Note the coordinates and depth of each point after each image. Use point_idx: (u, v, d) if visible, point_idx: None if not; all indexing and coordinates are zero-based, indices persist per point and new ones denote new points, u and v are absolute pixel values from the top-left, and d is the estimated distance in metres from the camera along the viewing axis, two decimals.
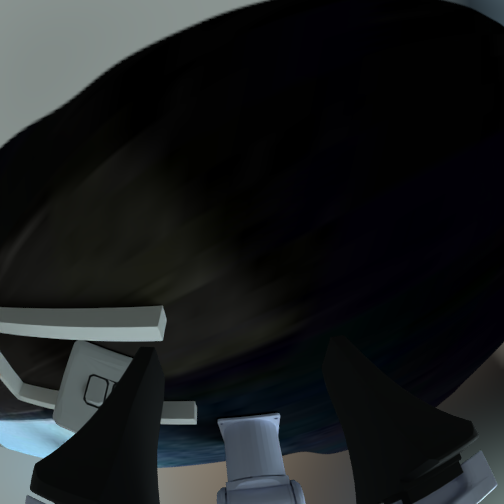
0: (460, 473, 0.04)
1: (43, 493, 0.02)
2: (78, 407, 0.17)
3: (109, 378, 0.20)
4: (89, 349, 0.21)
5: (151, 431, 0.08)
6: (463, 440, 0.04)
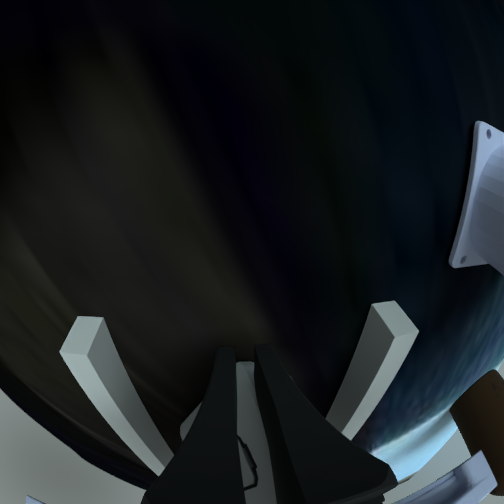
0: (460, 473, 0.04)
1: None
2: None
3: None
4: (187, 427, 0.14)
5: None
6: (364, 490, 0.03)
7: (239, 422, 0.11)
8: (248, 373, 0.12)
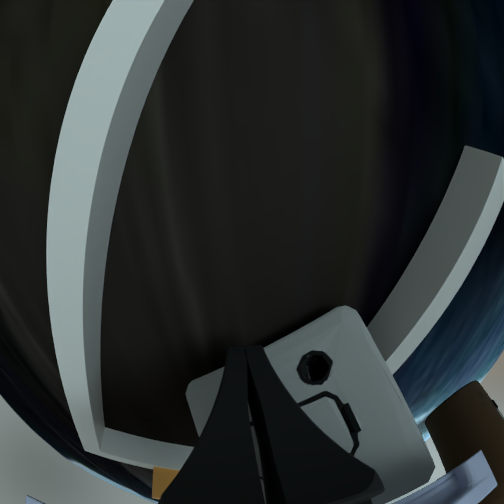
0: (460, 473, 0.04)
1: None
2: None
3: None
4: (211, 386, 0.12)
5: None
6: (347, 496, 0.03)
7: (340, 377, 0.10)
8: (361, 319, 0.10)
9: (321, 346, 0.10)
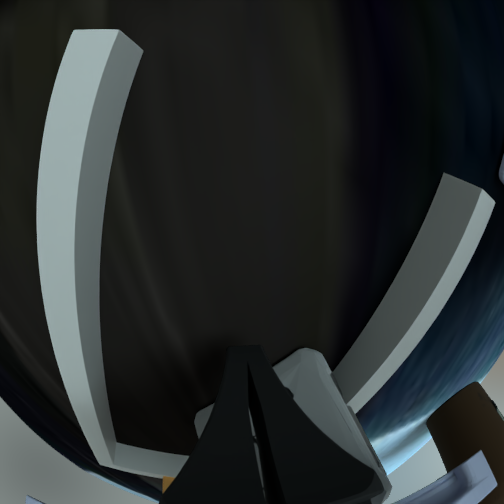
0: (460, 473, 0.04)
1: None
2: None
3: (254, 433, 0.12)
4: None
5: None
6: (347, 495, 0.03)
7: None
8: (317, 359, 0.12)
9: (285, 383, 0.12)
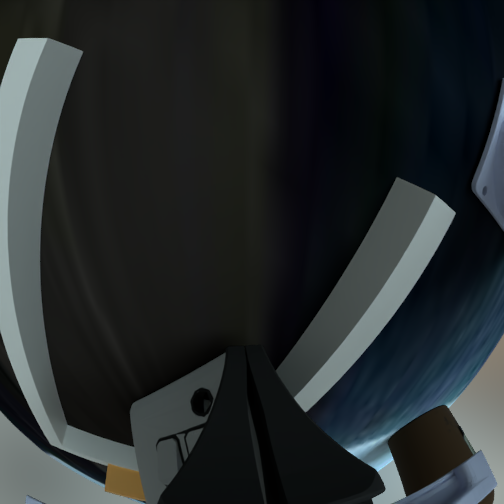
0: (460, 473, 0.04)
1: None
2: None
3: (175, 431, 0.11)
4: (142, 407, 0.13)
5: None
6: (348, 495, 0.03)
7: None
8: None
9: (207, 385, 0.12)
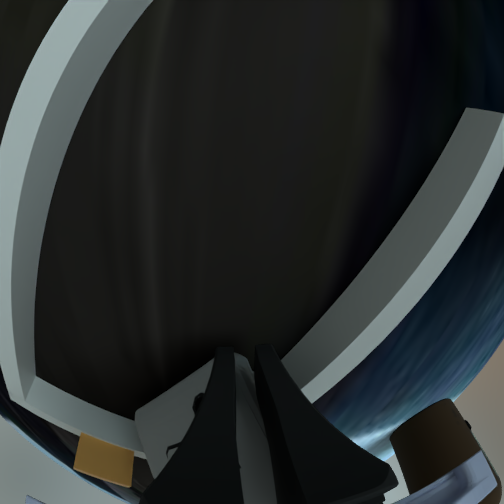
0: (460, 473, 0.04)
1: None
2: None
3: None
4: (146, 415, 0.13)
5: (235, 432, 0.08)
6: (364, 490, 0.04)
7: None
8: (238, 366, 0.11)
9: None
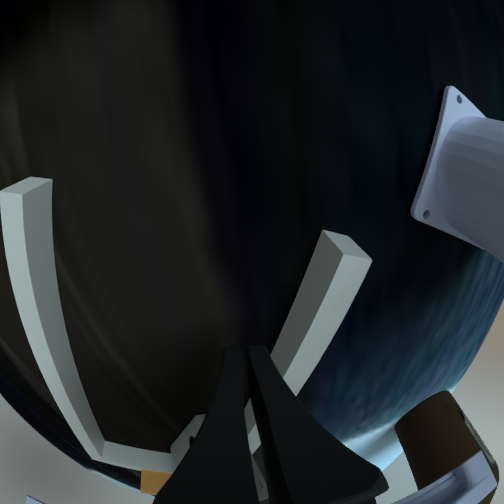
0: (460, 473, 0.04)
1: None
2: None
3: None
4: (174, 448, 0.20)
5: None
6: (352, 494, 0.03)
7: None
8: None
9: (192, 434, 0.18)
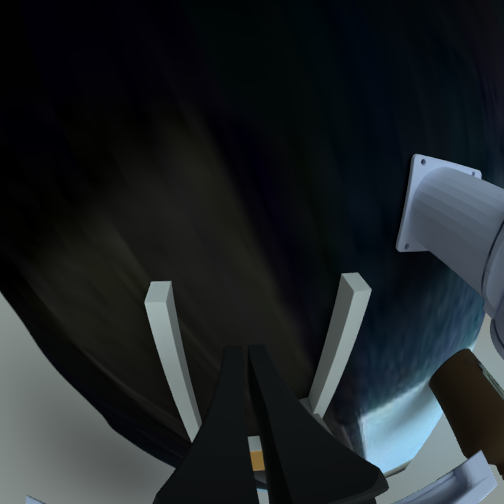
0: (460, 473, 0.04)
1: None
2: None
3: None
4: None
5: None
6: (353, 494, 0.03)
7: None
8: None
9: None
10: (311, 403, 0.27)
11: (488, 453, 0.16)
